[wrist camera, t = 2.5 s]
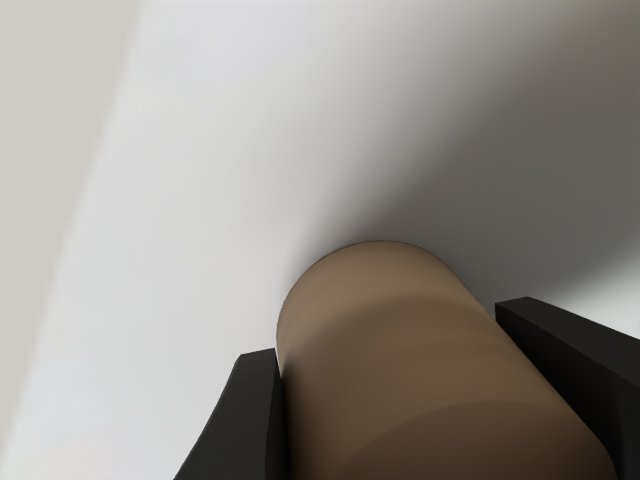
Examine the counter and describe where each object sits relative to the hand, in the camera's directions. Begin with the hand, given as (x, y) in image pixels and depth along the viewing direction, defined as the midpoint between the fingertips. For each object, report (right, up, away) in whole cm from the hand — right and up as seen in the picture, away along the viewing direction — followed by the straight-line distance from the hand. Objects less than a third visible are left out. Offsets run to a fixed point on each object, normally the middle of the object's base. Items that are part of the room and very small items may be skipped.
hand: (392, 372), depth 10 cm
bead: (0, +1, +1) cm, 1 cm away
